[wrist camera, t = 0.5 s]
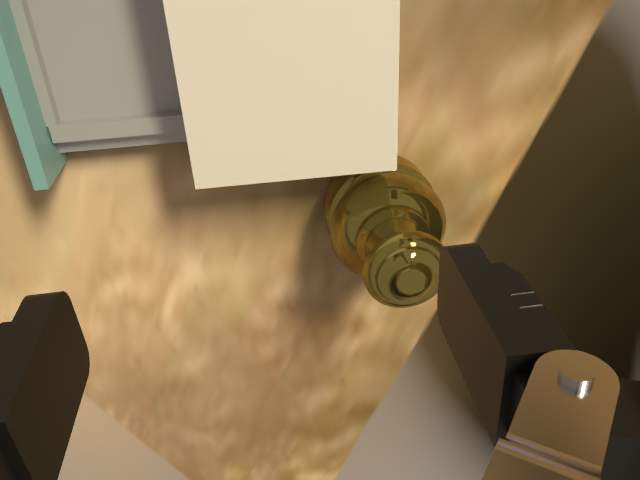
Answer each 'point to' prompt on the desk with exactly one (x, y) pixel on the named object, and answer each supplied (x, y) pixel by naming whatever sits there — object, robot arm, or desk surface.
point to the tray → (86, 78)
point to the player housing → (286, 87)
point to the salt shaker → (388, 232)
